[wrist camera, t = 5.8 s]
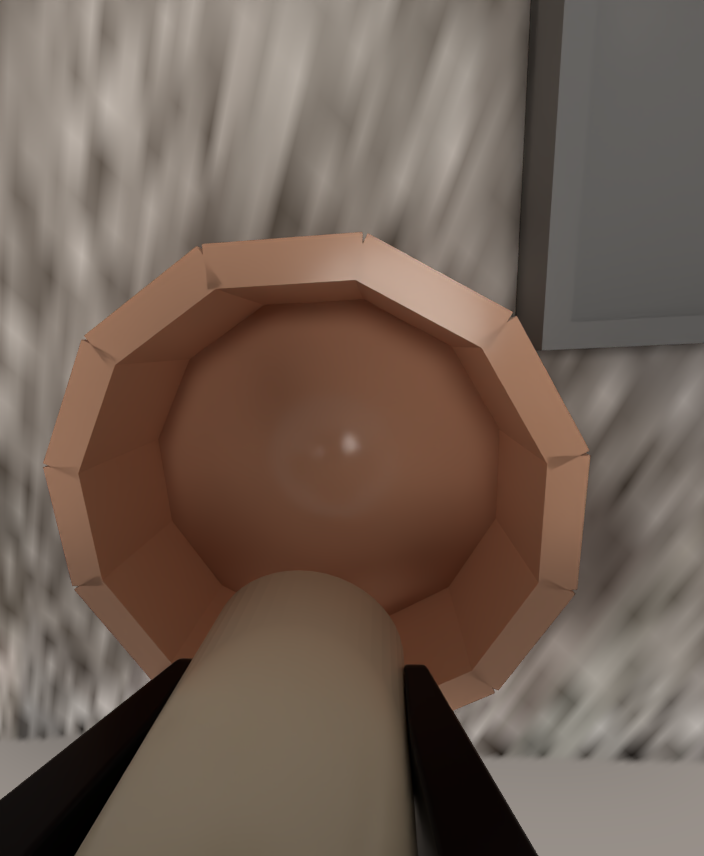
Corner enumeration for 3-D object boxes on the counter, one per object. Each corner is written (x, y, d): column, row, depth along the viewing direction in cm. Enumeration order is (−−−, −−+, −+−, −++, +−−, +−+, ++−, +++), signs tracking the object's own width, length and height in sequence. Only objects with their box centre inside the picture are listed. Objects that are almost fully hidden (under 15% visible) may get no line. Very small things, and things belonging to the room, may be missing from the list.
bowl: (530, 260, 10) (614, 212, 6) (509, 631, 12) (560, 746, 9) (119, 287, 11) (-8, 259, 7) (179, 626, 13) (106, 727, 10)
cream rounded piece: (402, 570, 7) (438, 958, 3) (405, 736, 8) (436, 1234, 3) (201, 569, 7) (-71, 908, 3) (225, 727, 8) (45, 1171, 4)
